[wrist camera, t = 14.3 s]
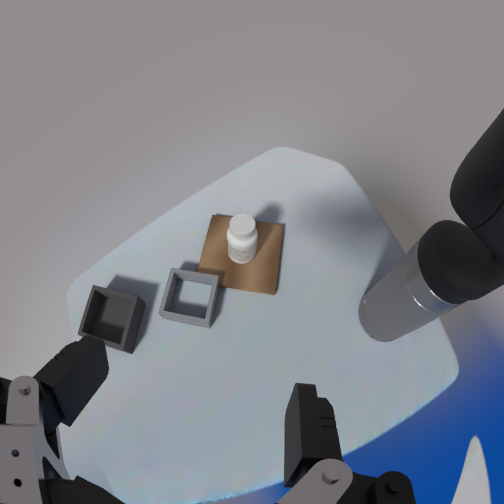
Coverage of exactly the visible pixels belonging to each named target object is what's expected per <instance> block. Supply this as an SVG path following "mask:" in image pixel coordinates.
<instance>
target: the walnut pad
mask: <svg viewBox="0 0 504 504" xmlns="http://www.w3.org/2000/svg"><path fill="white" fill-rule="evenodd" d="M230 220H231V217H224V216H216V215H212V218H211V222H210V225H209V229H208V232H207V236H206V240H205V243H204V247H203V251H202V254H201V258H200V262H199V266H198V270H197V272H199V273H205V274H211V275H217V276H219V286H221V287H227V288H233V289H239V290H246V291H252V292H259V293H265V294H272V295H275V292H276V284H277V275H278V267H279V258H280V250H281V241H282V232H283V225H279V224H272V223H266V222H259V221H255V224H256V225H255V228H256V229H257V232H258V239H257V249H256V255H255V257H254V259H253V260H252V261H250V262H248V263H245V264H239V263H236V262H234V261H232V260H231V259H230V257H229V255H228V248H227V230H228V228H229V227H230Z"/></svg>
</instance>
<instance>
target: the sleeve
mask: <svg viewBox="0 0 504 504" xmlns="http://www.w3.org/2000/svg"><path fill="white" fill-rule="evenodd" d="M177 279H180V280H186V281H192V282H197V283H203V284H209V285H212V289H211V293H210V298H209V303H208V307H207V312H206V316H205V319H203V318H198V317H192V316H187V315H182V314H178V313H173V312H169V308H170V305H171V301H172V297H173V293H174V289H175V286H176V282H177ZM218 289H219V276H217V275H211V274H205V273H199V272H193V271H187V270H181V269H176V268H171V271H170V274H169V277H168V281H167V284H166V288H165V291H164V295H163V299H162V302H161V306H160V310H159V315H160V316H161V317H162V318H163V319H167V320H172V321H177V322H181V323H186V324H191V325H196V326H201V327H207V328H210V327H211V322H212V317H213V312H214V308H215V303H216V298H217V293H218Z"/></svg>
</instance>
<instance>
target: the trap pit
mask: <svg viewBox="0 0 504 504" xmlns="http://www.w3.org/2000/svg"><path fill="white" fill-rule="evenodd" d="M144 306H145V303H144V302H143V301H142V300H141V299H140V298H139V297H138V296H136V295H132V294H127V293H123V292H119V291H115V290H111V289H107V288H103V287H99V286H95V285H93V287H92V290H91V292H90V295H89V298H88V301H87V305H86V308H85V311H84V314H83V317H82V321H81V324H80V328H79V331H78V335H80V336H82V337H84V336H85V335H86V334H90V335H93V336H95V337H98V338H101V339H103V340H104V342H105V346H108V347H111V348H114V349H118V350H121V351H124V352H127V353H131V354H132V352H133V348H134V344H135V340H136V336H137V332H138V328H139V324H140V321H141V317H142V313H143V310H144Z"/></svg>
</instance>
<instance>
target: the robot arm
mask: <svg viewBox="0 0 504 504" xmlns="http://www.w3.org/2000/svg"><path fill="white" fill-rule="evenodd" d="M450 200H451V204H452V206H453V208H454V210H455V212H456V213H457V214H458V216H459V217H460V218H461V220H462V221H463V222H464V223H465V224H466V225H467V226H468V227H467V226H465V225H463V224H461V223H458V222H455V221H451V220H443V221H439V222H438V223H435V224H434V225H433V226H432V227H430V228H429V229H428V231H427V232H426V233H425V234H424V235H423V236H422V237H421V238H420V239H419V241H418V242H417V243H416V244H415V245H414V246H413V247H412V248H411V249H410V250H409V252H408V253H406V255H405V256H404V257H403V258H402V259H401V260H400V261H399V262H398V263H397V264H396V265H395V266H394V267H393V268H392V269H391V270H390V271H389V272H388V273H387V274H386V275H385V276H384V277H383V278H382V279H381V280H380V281H379V282H377V283H376V284H375V285H374V286H373V287H372V288H371V289H370V290H369V291H368V292H367V293H366V294H365V295H364V296H363V298H362V300H361V303H360V306H359V318H360V321H361V324H362V326H363V328H364V330H365V331H366V332H367V334H369V335H370V336H371V337H372V338H374V339H376V340H378V341H382V342H388V341H393V340H395V339H397V338H399V337H401V336H403V335H405V334H408V333H410V332H412V331H414V330H416V329H418V328H420V327H422V326H424V325H426V324H427V323H429V322H431V321H433V320H435V319H437V318H439V317H440V316H442V315H444V314H446V313H448V312H449V311H451V310H453V309H454V308H456V307H458V306H459V305H461V304H463V303H464V302H466V301H468V300H475V299H479V298H481V297H482V296H485V295H486V294H488V293H490V292H491V291H493V290H495V289H497V288H498V287H500V286H502V285H504V109H503V110H502V111H501V113H500V114H499V115H498V117H497V118H496V119H495V120H494V122H493V123H492V124H491V125H490V127H489V128H488V129H487V130H486V132H485V133H484V134H483V135H482V137H481V138H480V139H479V140H478V142H477V143H476V144H475V145H474V147H473V148H472V149H471V150H470V152H469V153H468V155H467V156H466V157H465V159H464V160H463V162H462V163H461V165H460V167H459V168H458V170H457V172H456V174H455V176H454V179H453V181H452V185H451V189H450ZM108 371H109V365H108V359H107V353H106V347H105V342H104V340H103V339H101V338H98V337H95V336H93V335H90V334H86V335H85V336H84V337H83V338H82V339H81V340H80V341H78V342H77V341H75V342H73V343H71V344H69V345H66V346H65V347H64V348H63V349H62V350H61V351H60V352H59V354H57V355H55V356H54V359H51V360H50V361H49V362H48V363H47V364H46V365H45V366H44V367H43V368H42V369H41V370H40V371H39V372H38V373H37V374H36V375H35V376H34V377H30V376H20V377H17V378H16V379H14V380H13V381H11V380H8V379H5V378H1V377H0V504H125V503H123V502H122V501H120V500H119V499H117V498H116V497H114V496H113V495H112V494H110V493H109V492H107V491H106V490H105V489H103V488H101V487H99V486H97V485H95V484H93V483H91V482H89V481H87V480H85V479H83V478H81V477H79V476H76V478H75V479H74V480H70V477H69V474H68V472H67V470H66V468H65V465H64V460H63V455H62V448H61V441H60V433H59V428H58V425H59V424H60V422H62V423H64V424H65V425H67V426H69V427H70V426H71V425H72V423H73V422H74V421H75V419H76V418H77V417H78V415H79V414H80V413H81V411H82V410H83V408H84V407H85V406H86V404H87V403H88V402H89V400H90V399H91V398H92V396H93V395H94V394H95V393H96V391H97V390H98V389H99V387H100V386H101V385H102V383H103V382H104V381H105V379H106V378H107V375H108ZM284 487H290V488H292V489H291V490H290V491H289V492H288V493H287V494H286V495H284V496H283V497H282V498H281V499H280V500H279V501H278V502H277V503H275V504H416V502H415V497H414V493H413V488H412V484H411V481H410V480H409V478H408V477H407V476H406V475H404V474H402V473H400V472H396V471H390V472H386V473H384V474H382V475H381V476H380V477H379V478H376V477H370V476H365V475H360V474H357V473H355V472H353V471H351V469H350V467H349V466H348V465H347V464H345V463H344V462H343V459H342V455H341V449H340V443H339V437H338V432H337V428H336V421H335V415H334V410H333V407H332V405H331V404H330V403H329V401H328V400H327V398H319V397H317V391H316V386H315V385H314V384H304V383H296V384H295V386H294V389H293V392H292V395H291V398H290V401H289V403H288V406H287V409H286V414H285V456H284Z"/></svg>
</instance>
